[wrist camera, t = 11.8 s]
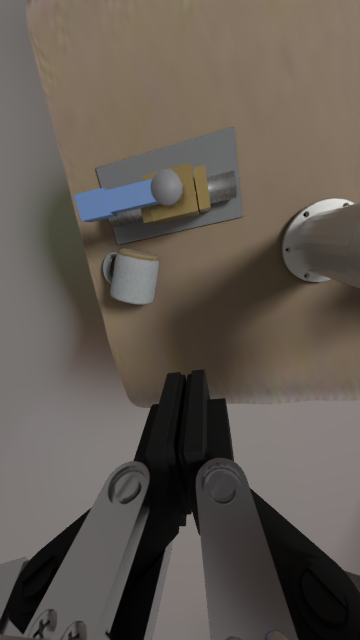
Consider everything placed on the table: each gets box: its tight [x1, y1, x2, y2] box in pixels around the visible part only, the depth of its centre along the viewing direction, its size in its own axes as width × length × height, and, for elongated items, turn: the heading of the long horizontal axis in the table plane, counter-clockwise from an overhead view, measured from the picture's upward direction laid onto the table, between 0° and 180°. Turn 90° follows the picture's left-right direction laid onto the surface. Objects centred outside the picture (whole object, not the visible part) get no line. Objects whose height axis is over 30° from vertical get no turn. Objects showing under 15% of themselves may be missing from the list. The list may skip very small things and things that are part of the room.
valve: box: [108, 163, 237, 227], centre depth 32 cm, size 20×6×8 cm, turn 102°
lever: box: [74, 169, 183, 222], centre depth 27 cm, size 4×13×2 cm, turn 101°
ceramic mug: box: [103, 248, 159, 305], centre depth 37 cm, size 11×8×8 cm
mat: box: [96, 127, 243, 245], centre depth 35 cm, size 22×12×1 cm, turn 102°
